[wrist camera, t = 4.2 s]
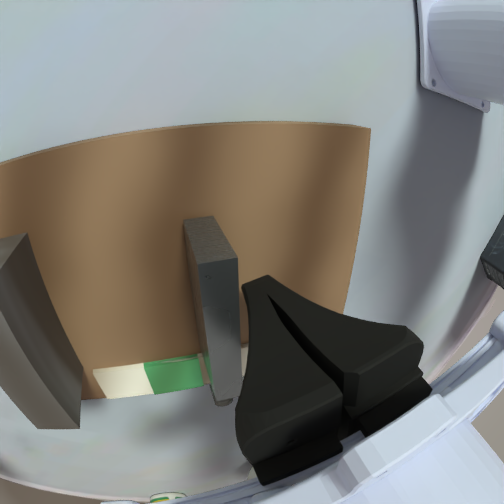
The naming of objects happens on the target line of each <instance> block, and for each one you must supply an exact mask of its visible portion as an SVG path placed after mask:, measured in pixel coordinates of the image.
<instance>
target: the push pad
mask: <svg viewBox="0 0 504 504" xmlns="http://www.w3.org/2000/svg"><path fill="white" fill-rule="evenodd" d="M183 224H184V234H185V243H186V252H187V260H188V268H189V276H190V283H191V291H192V298H193V305H194V312H195V318H196V325H197V331H198V337H199V343H200V348H201V352H202V355H203V359H204V362H205V366H206V369H207V372H208V376H209V379H210V382H211V385H210V388H211V392H212V395H213V398H214V401H215V404H216V405H217V406H226V405H229V404H230V403H231V402H232V401H233V398H234V397H238V396H240V392H241V389H242V362H241V336H240V306H239V273H238V256H237V255H236V253H235V251H234V250H233V248H232V246H231V245H230V243H229V241H228V240H227V238H226V236H225V235H224V233H223V231H222V230H221V228H220V226H219V224H218V223H217V221H216V219H215V218H214V216H206V217H198V218H191V219H184V220H183Z"/></svg>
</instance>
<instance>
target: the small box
mask: <svg viewBox="0 0 504 504" xmlns="http://www.w3.org/2000/svg"><path fill="white" fill-rule="evenodd" d="M480 258H481V261H482V264H483V267H484V269H485V272H486V275H487V278H488V279H490V280H492V281H494V282H495V283H496V284H498V285H499V286H501V287H502V288H503V289H504V216H503V218H502V219H501V221H500V223H499V225H498V227H497V229H496V230H495V232H494V234H493V236H492V237H491V239H490V241H489V243H488V244H487V246H486V248H485V249H484V251H483V253H482V254H481V256H480Z"/></svg>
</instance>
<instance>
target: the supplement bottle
mask: <svg viewBox="0 0 504 504" xmlns="http://www.w3.org/2000/svg"><path fill="white" fill-rule="evenodd" d="M182 497H186V496H185V495H184V494H182V493H161V494H156V495H153V496H151V498H150V503H154V502H160V501H166V500H172V499H177V498H182Z"/></svg>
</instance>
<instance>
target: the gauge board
mask: <svg viewBox="0 0 504 504" xmlns="http://www.w3.org/2000/svg"><path fill="white" fill-rule="evenodd" d="M370 134H371V129H370V128H366V127H361V126H356V125H349V124H336V123H319V122H292V121H249V122H222V123H205V124H192V125H181V126H171V127H162V128H154V129H146V130H139V131H132V132H126V133H119V134H113V135H108V136H102V137H97V138H92V139H87V140H82V141H78V142H73V143H69V144H64V145H60V146H56V147H52V148H48V149H44V150H41V151H37V152H34V153H30V154H27V155H23V156H20V157H17V158H13V159H10V160H7V161H4V162H1V163H0V386H1V387H2V389H3V390H4V391H5V393H6V394H7V395H8V396H9V397H10V399H11V400H12V401H13V402H14V403H15V405H16V406H17V407H18V408H19V409H20V410H21V411H22V413H23V414H24V415H25V416H26V417H27V418H28V419H29V420H30V421H31V422H32V423H33V424H34V425H35V427H36V428H37V429H80V407H81V400H86V399H99V398H107V399H114V398H123V397H131V396H139V395H146V394H153V393H154V394H162V393H168V392H174V391H180V390H185V389H191V388H196V387H201V386H204V384H209V383H211V382H210V379H209V376H208V372H207V369H206V366H205V362H204V359H203V355H202V352H201V348H200V343H199V337H198V331H197V325H196V318H195V312H194V305H193V298H192V291H191V283H190V276H189V268H188V260H187V252H186V243H185V234H184V224H183V220H184V219H191V218H198V217H206V216H214V218H215V219H216V221H217V223H218V224H219V226H220V228H221V230H222V231H223V233H224V235H225V236H226V238H227V240H228V241H229V243H230V245H231V246H232V248H233V250H234V251H235V253H236V255H237V256H238V273H239V306H240V336H241V362H242V376H244V375H245V370H246V364H247V355H248V343H249V324H248V312H247V305H246V302H245V299H244V296H243V293H242V289H241V286H242V284H244V283H247V282H249V281H252V280H254V279H257V278H260V277H262V276H265V275H267V274H268V275H270V276H271V277H273V278H274V279H276V280H277V281H279V282H280V283H281V284H283V285H285V286H286V287H288V288H289V289H291V290H292V291H294V292H296V293H298V294H299V295H301V296H303V297H305V298H306V299H308V300H310V301H312V302H314V303H316V304H318V305H320V306H323V307H325V308H327V309H330V310H332V311H335V312H337V313H340V314H343V311H344V306H345V302H346V297H347V293H348V288H349V283H350V278H351V273H352V268H353V263H354V258H355V252H356V246H357V241H358V235H359V228H360V222H361V215H362V208H363V201H364V193H365V185H366V177H367V168H368V158H369V147H370Z"/></svg>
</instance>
